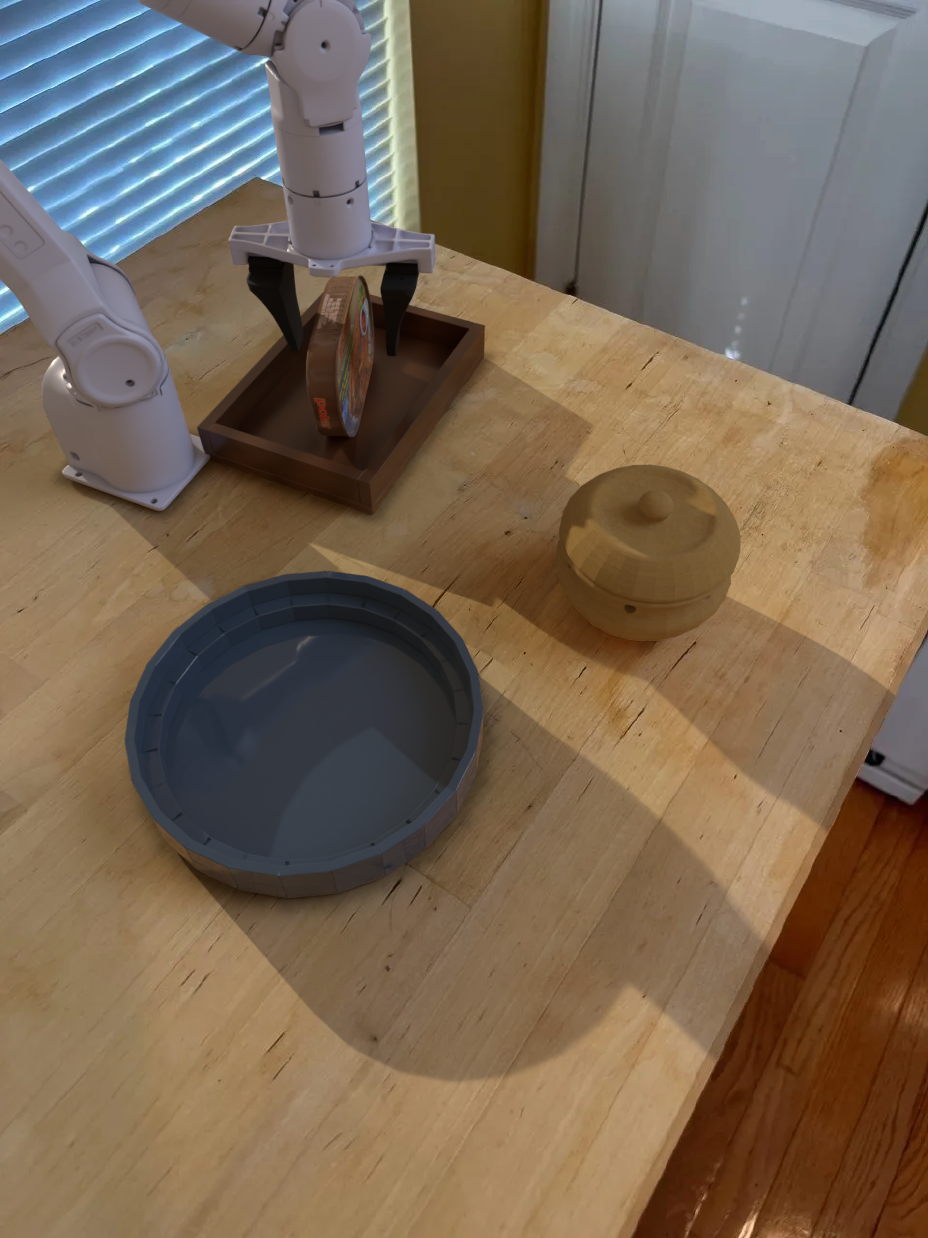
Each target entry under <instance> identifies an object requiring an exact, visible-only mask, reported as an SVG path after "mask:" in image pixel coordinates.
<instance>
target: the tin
mask: <svg viewBox="0 0 928 1238" xmlns="http://www.w3.org/2000/svg"><path fill="white" fill-rule="evenodd" d="M322 293H323V296H322V299H321V302H320V306H319V309H318V312H317V316H316V319H315V323H314V326H313V330H312V334H311V337H310V341H309V345H308V351H307V361H306V382H307V392H308V397H309V400H310V402H311V406H312V410H313V414H314V418H315V422H316V425H317V431H318V432H319V433H320V434H322V435H325V436H348V437H351V438H352V437H354V436H355V435H356V434H357V432H358V429H359V425H360V421H361V417H362V412H363V407H364V403H365V398H366V394H367V389H368V385H369V380H370V376H371V371H372V366H373V357H374V324H373V314H372V304H371V298H370V294H371V293H370V288H369V286H368V282H367V280H366V278H365V276H363V275H361V274H357V275H355V276H354V275H353V276H351V275H350V276H348V275H347V276H336V277H331V278H329V279H328V280H327V282H326V284H325V287H324V289H323V291H322Z"/></svg>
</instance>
